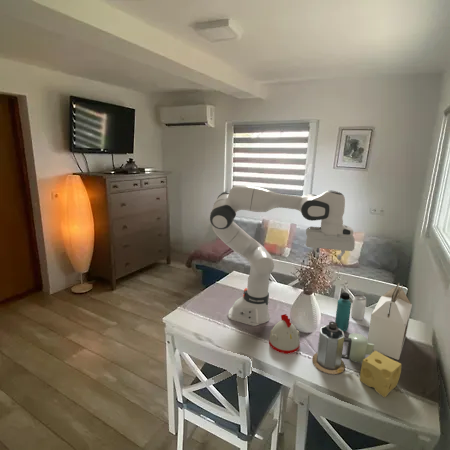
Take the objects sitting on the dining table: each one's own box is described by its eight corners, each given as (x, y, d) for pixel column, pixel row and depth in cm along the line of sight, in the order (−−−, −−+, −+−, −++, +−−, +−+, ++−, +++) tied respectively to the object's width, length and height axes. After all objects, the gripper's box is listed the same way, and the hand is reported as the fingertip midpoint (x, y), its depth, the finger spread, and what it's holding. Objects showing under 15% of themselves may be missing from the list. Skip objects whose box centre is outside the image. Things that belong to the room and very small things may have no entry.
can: (351, 319, 156) (354, 299, 153) (350, 313, 162) (353, 293, 159) (364, 321, 154) (367, 301, 151) (363, 315, 160) (366, 295, 157)
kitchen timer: (277, 356, 127) (279, 326, 124) (264, 337, 140) (265, 309, 136) (305, 350, 131) (308, 321, 127) (290, 332, 144) (292, 305, 140)
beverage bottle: (349, 334, 143) (354, 297, 138) (335, 332, 144) (339, 296, 139) (346, 327, 149) (351, 291, 144) (333, 325, 151) (337, 290, 146)
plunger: (321, 354, 119) (324, 327, 116) (320, 343, 126) (323, 317, 123) (339, 358, 118) (343, 330, 114) (337, 346, 124) (341, 320, 121)
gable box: (398, 360, 126) (409, 302, 119) (365, 348, 134) (374, 292, 127) (405, 336, 143) (416, 284, 136) (376, 326, 151) (384, 276, 144)
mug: (347, 360, 125) (350, 342, 123) (345, 349, 132) (347, 331, 130) (372, 365, 123) (376, 346, 121) (369, 353, 130) (372, 335, 128)
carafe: (312, 370, 119) (316, 338, 115) (311, 350, 131) (315, 320, 127) (349, 378, 115) (354, 345, 112) (345, 356, 128) (349, 326, 124)
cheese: (385, 398, 106) (389, 375, 104) (357, 380, 115) (360, 358, 112) (398, 385, 112) (402, 363, 110) (371, 369, 121) (374, 348, 118)
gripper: (306, 227, 126) (303, 257, 129) (357, 231, 121) (353, 262, 124) (306, 224, 132) (304, 253, 135) (354, 228, 127) (351, 257, 130)
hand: (328, 257), depth 130 cm, fingers open, 8 cm apart
